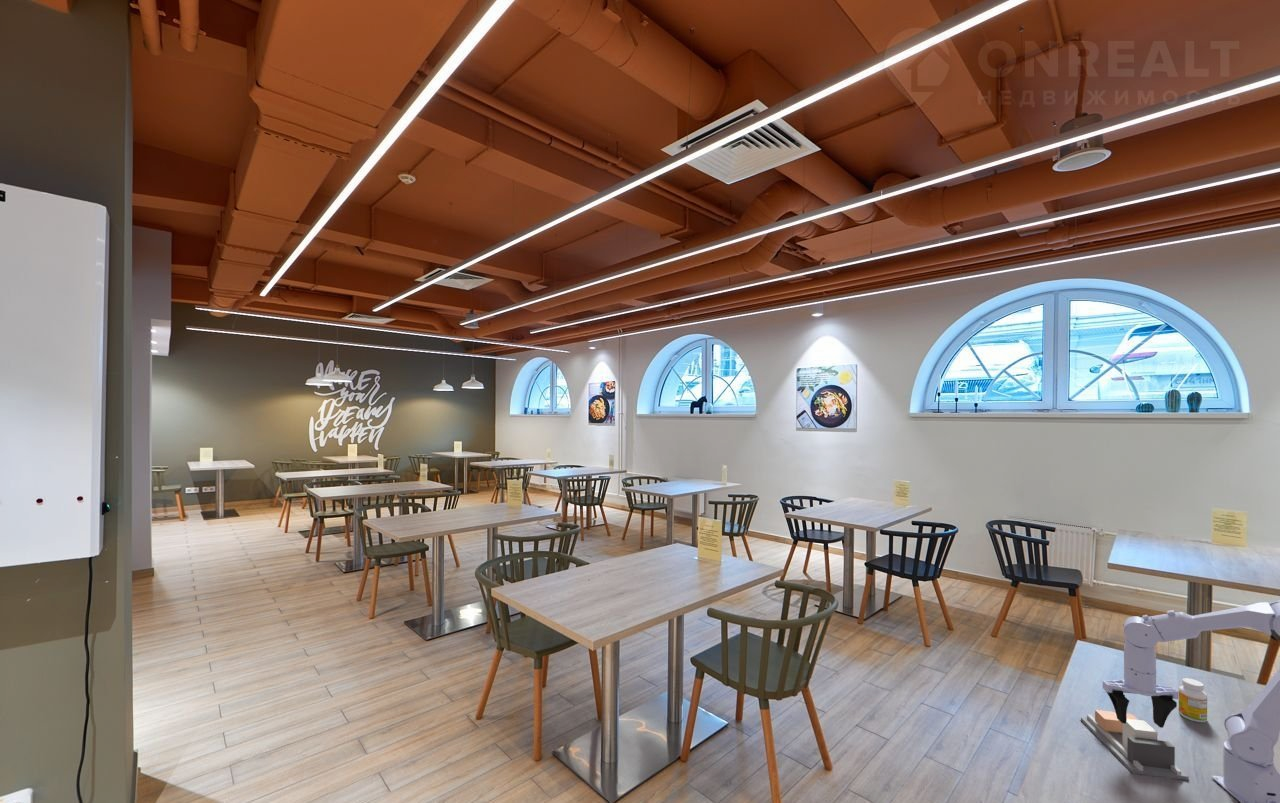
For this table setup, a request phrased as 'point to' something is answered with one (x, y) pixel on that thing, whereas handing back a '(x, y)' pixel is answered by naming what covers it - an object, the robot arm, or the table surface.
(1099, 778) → the table surface
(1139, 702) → the table surface
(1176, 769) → the rail holder
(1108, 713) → the peach block
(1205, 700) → the supplement bottle
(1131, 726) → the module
